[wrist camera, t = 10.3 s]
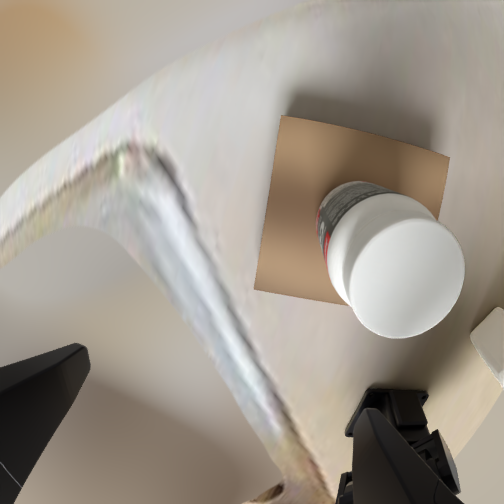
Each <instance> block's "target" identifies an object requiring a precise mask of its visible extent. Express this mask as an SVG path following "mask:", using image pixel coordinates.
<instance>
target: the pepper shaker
mask: <svg viewBox="0 0 504 504" xmlns="http://www.w3.org/2000/svg"><path fill="white" fill-rule="evenodd" d="M470 339H471V342H472V344H473V345H474V347H475V349H476V350H477V352H478V353H479V355H480V356H481V358H482V359H483V361H484V362H485V363H486V365H487V366H488V368H489V369H490V370H491V372H492V373H493V375H494V376H495V377H496V379H497V380H498V382H499V383H500V385H501V386H502V388H503V389H504V310H503V309H502V308H500V307H497V308H495V309H494V310H493V311H492V312H491V313H490V314H489V315H488V316H487V317H486V318H485V319H484V320H483V321H482V322H481V323H480V324H479V325H478V326H477V327H476V328H475V329H474V330H473V331H472V332H471V334H470Z"/></svg>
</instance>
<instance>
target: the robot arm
mask: <svg viewBox="0 0 504 504" xmlns="http://www.w3.org/2000/svg"><path fill="white" fill-rule="evenodd" d="M89 371H90V360H89V355H88V350H87V348H86V347H85V346H84V345H81V344H79V343H74V344H70V345H67V346H64V347H62V348H59V349H56V350H53V351H50V352H47V353H44V354H41V355H38V356H35V357H31V358H29V359H26V360H22V361H19V362H16V363H13V364H10V365H7V366H4V367H0V504H14V502H15V500H16V498H17V496H18V494H19V492H20V491H21V489H22V488H21V487H23V485H24V483H25V482H26V479H27V478H28V476H29V474H30V473H31V471H32V469H33V468H34V466H35V464H36V462H37V461H38V459H39V457H40V456H41V454H42V452H43V451H44V449H45V447H46V446H47V444H48V442H49V441H50V439H51V437H52V436H53V434H54V433H55V431H56V429H57V428H58V426H59V425H60V423H61V422H62V420H63V418H64V417H65V415H66V414H67V412H68V411H69V409H70V407H71V406H72V404H73V402H74V400H75V399H76V397H77V395H78V392H79V390H80V389H81V387H82V385H83V383H84V381H85V379H86V377H87V375H88V373H89ZM372 393H373V394H372ZM370 394H371V395H370ZM428 396H429V395H428V392H427V391H415V390H390V389H374V388H372V389H368V390H367V391H366V392H365V394H364V396H363V398H362V400H361V402H360V404H359V406H358V408H357V410H356V412H355V414H354V416H353V417H352V419H351V421H350V423H349V425H348V427H347V428H346V430H345V436H346V437H353V460H352V471H351V472H345V473H343V474H341V479H340V484H339V489H338V494H337V499H336V503H335V504H464V503H463V502H462V501H461V500H460V499H458V498H457V497H456V496H455V495H457V494H459V493H460V492H461V490H460V484H459V479H458V474H457V469H456V466H455V463H454V460H453V458H452V455H451V453H450V450H449V448H448V446H447V444H446V443H445V441H444V439H443V437H442V436H441V434H440V432H439V430H438V429H437V430H435V431H433V432H432V434H430V433H429V430H428V427H427V423H428V421H427V419H426V416H425V414H424V411H423V408H422V406H423V405H424V403H425V402H426V400H427V398H428Z"/></svg>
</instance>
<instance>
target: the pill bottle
mask: <svg viewBox="0 0 504 504" xmlns="http://www.w3.org/2000/svg"><path fill="white" fill-rule="evenodd" d="M316 232H317V237H318V240H319V243H320V246H321V249H322V253H323V256H324V260H325V263H326V267H327V271H328V274H329V277H330V280H331V282H332V285H333V287H334V288H335V290H336V291H337V293H338V294H339V296H340V297H341V298H342V299H343V300H344V301H345V302H346V303H347V304H348V305H350V306H351V307H352V308H353V311H354V313H355V314H356V316H357V318H358V319H359V320H360V322H361V323H362V324H363V325H364V326H365V327H366V328H368V329H369V330H370V331H372V332H374V333H376V334H378V335H380V336H384V337H388V338H408V337H412V336H416V335H419V334H421V333H423V332H425V331H427V330H429V329H431V328H433V327H434V326H435V325H437V324H438V323H439V322H440V321H441V320H442V319H444V317H445V316H446V315H447V314H448V313H449V312H450V310H451V309H452V307H453V306H454V304H455V303H456V301H457V299H458V297H459V295H460V292H461V289H462V285H463V282H464V275H465V263H464V256H463V252H462V249H461V246H460V244H459V242H458V240H457V239H456V237H455V236H454V234H453V233H452V232H451V231H450V230H449V229H448V228H447V227H446V226H444V225H443V224H441V223H440V222H438V221H437V220H436V219H435V217H434V216H433V215H432V213H431V212H430V211H429V210H428V209H427V208H426V207H425V206H423V205H422V204H421V203H419V202H418V201H416V200H414V199H413V198H411V197H408V196H406V195H403V194H401V193H398V192H395V191H393V190H390V189H387V188H384V187H382V186H379V185H376V184H373V183H370V182H366V181H352V182H348V183H345V184H342V185H340V186H338V187H336V188H335V189H333V190H332V191H331V192H330V193H329V194H328V195H327V196H326V197H325V198H324V200H323V202H322V203H321V205H320V207H319V210H318V213H317V218H316Z"/></svg>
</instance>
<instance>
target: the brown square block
mask: <svg viewBox="0 0 504 504" xmlns="http://www.w3.org/2000/svg"><path fill="white" fill-rule="evenodd" d="M449 160H450V157H447V156H444V155H442V154H439V153H436V152H433V151H430V150H427V149H424V148H421V147H417V146H414V145H411V144H408V143H404V142H401V141H397V140H394V139H390V138H387V137H383V136H379V135H376V134H372V133H368V132H364V131H360V130H355V129H351V128H347V127H342V126H338V125H333V124H328V123H323V122H318V121H312V120H307V119H301V118H295V117H289V116H283V115H281V119H280V125H279V132H278V139H277V145H276V152H275V158H274V164H273V171H272V177H271V184H270V190H269V196H268V203H267V209H266V216H265V222H264V228H263V234H262V241H261V247H260V253H259V259H258V266H257V272H256V278H255V284H254V290H260V291H265V292H271V293H276V294H282V295H287V296H293V297H299V298H304V299H310V300H316V301H322V302H328V303H334V304H340V305H347V306H350V305H348V304H347V303H346V302H345V301H344V300H343V299H342V298H341V297H340V296H339V294H338V293H337V291H336V290H335V288H334V287H333V285H332V282H331V280H330V277H329V274H328V271H327V267H326V263H325V260H324V256H323V253H322V249H321V246H320V243H319V240H318V237H317V232H316V218H317V213H318V210H319V207H320V205H321V203H322V202H323V200H324V198H325V197H326V196H327V195H328V194H329V193H330V192H331V191H332V190H333V189H335V188H336V187H338V186H340V185H342V184H345V183H348V182H352V181H366V182H370V183H373V184H376V185H379V186H382V187H384V188H387V189H390V190H393V191H395V192H398V193H401V194H403V195H406V196H408V197H411V198H413V199H414V200H416V201H418V202H419V203H421V204H422V205H423V206H425V207H426V208H427V209H428V210H429V211H430V212H431V213H432V215H433V216H434V217H435V219H436V220H437V221H438V217H439V212H440V208H441V203H442V199H443V194H444V189H445V183H446V178H447V172H448V166H449Z"/></svg>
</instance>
